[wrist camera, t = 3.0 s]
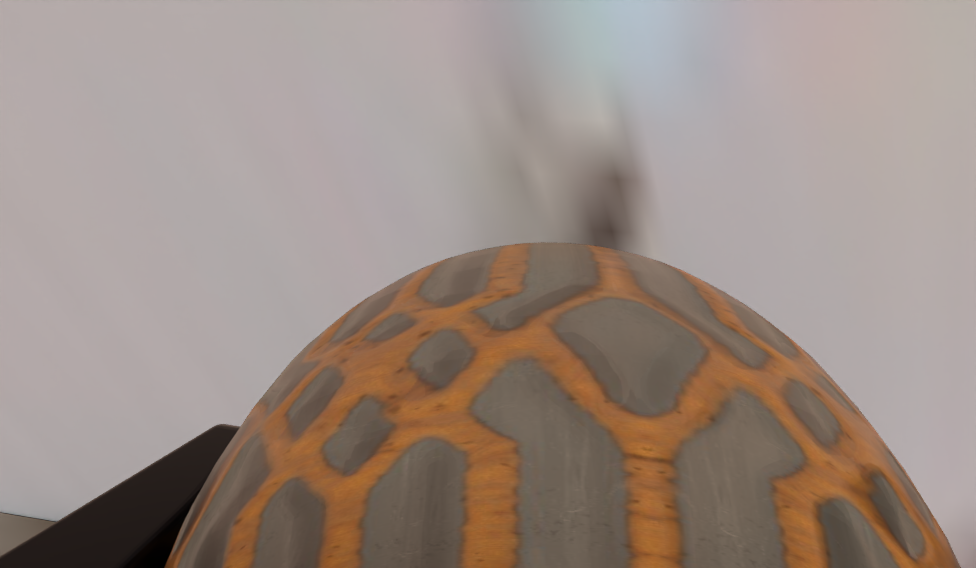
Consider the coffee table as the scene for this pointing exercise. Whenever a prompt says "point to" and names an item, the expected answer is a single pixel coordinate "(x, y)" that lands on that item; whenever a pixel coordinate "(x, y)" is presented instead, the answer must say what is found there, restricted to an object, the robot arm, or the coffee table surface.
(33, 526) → the stacked plates with bolts
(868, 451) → the vase
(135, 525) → the robot arm
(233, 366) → the coffee table surface
